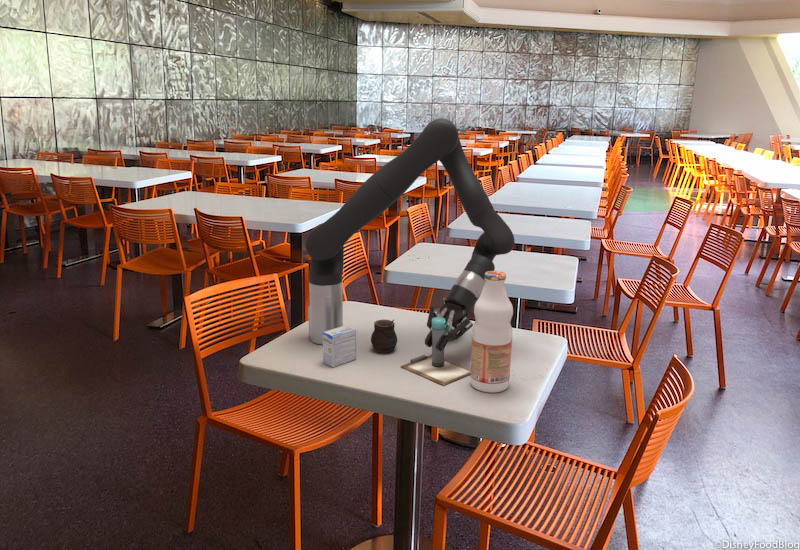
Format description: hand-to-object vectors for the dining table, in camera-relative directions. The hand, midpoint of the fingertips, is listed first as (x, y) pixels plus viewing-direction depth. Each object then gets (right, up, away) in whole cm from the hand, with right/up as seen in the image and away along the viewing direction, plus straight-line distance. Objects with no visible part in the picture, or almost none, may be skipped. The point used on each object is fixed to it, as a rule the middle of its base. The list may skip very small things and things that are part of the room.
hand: (432, 347), depth 161 cm
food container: (+6, 0, +24) cm, 25 cm away
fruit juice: (+13, -8, -7) cm, 17 cm away
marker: (+2, -5, +3) cm, 6 cm away
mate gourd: (-13, -3, +14) cm, 19 cm away
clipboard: (+1, -6, +1) cm, 6 cm away
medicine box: (-24, -5, +6) cm, 25 cm away
